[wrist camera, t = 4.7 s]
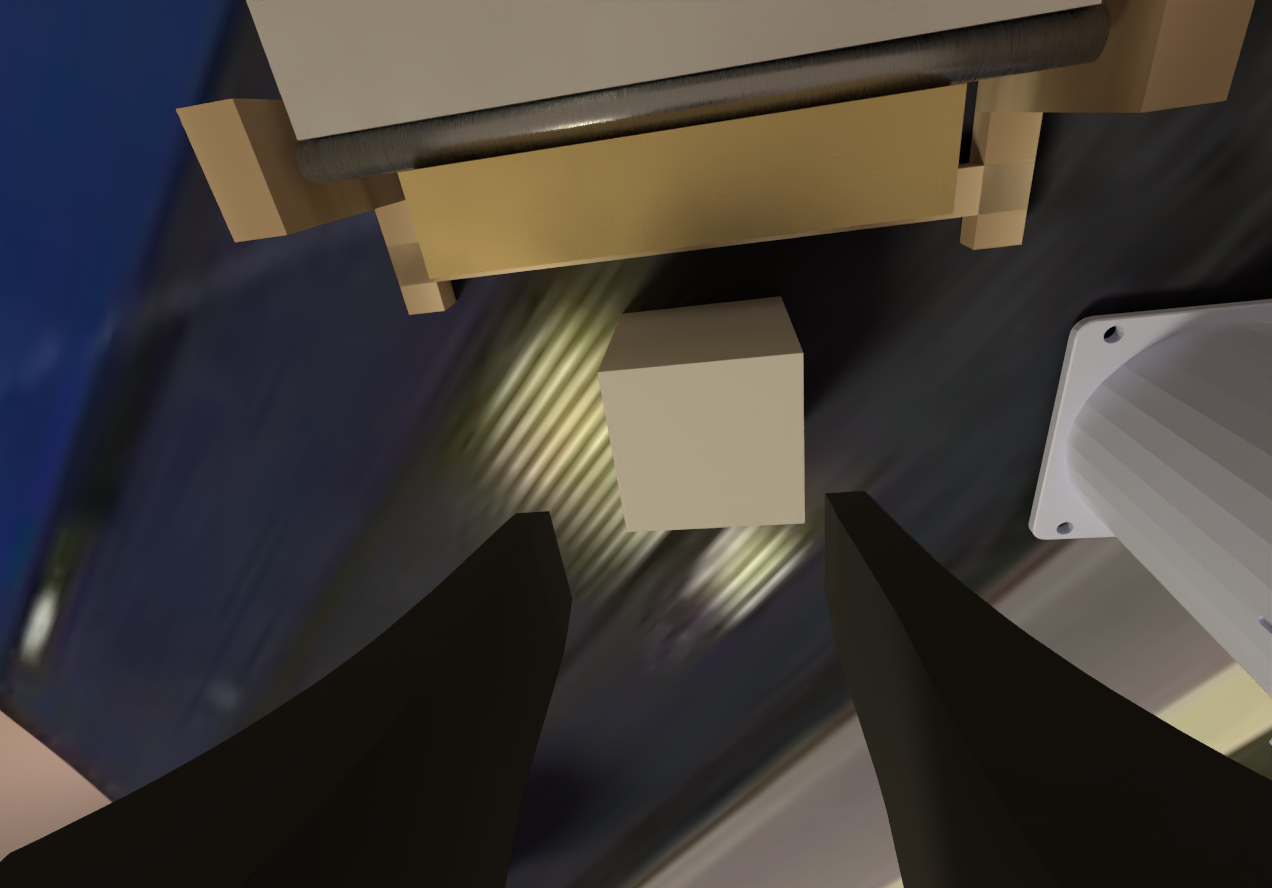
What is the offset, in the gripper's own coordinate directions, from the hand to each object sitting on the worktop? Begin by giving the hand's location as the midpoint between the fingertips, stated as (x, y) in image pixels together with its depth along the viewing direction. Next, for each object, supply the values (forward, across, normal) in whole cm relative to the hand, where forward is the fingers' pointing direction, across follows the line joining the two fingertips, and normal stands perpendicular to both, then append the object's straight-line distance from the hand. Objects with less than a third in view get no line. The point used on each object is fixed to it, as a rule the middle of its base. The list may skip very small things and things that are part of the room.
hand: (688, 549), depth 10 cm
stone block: (+10, 0, +1) cm, 11 cm away
